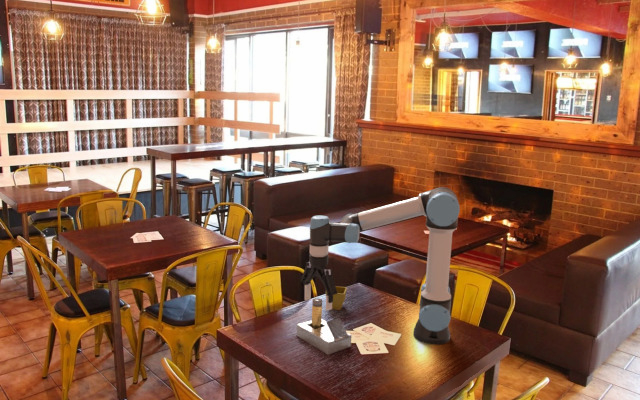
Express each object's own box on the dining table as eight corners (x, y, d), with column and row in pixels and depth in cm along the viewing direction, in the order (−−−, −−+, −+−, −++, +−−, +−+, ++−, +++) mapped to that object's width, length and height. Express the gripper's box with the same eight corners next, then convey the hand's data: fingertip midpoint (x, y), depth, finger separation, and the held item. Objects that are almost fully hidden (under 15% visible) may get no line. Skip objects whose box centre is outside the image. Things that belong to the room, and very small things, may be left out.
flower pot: (343, 312, 259) (344, 293, 258) (324, 310, 261) (325, 291, 259) (346, 305, 268) (347, 287, 266) (328, 303, 270) (328, 285, 268)
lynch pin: (322, 337, 234) (324, 300, 230) (315, 339, 231) (316, 303, 228) (316, 333, 237) (318, 297, 233) (308, 335, 234) (310, 299, 231)
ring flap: (325, 322, 222) (327, 321, 222) (338, 318, 227) (340, 317, 226) (334, 343, 219) (336, 341, 218) (348, 338, 223) (349, 337, 223)
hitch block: (296, 335, 234) (297, 324, 233) (319, 328, 242) (319, 317, 241) (328, 354, 219) (328, 342, 218) (350, 346, 227) (351, 334, 226)
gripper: (346, 260, 220) (345, 311, 224) (307, 245, 238) (306, 293, 243) (332, 264, 215) (330, 316, 219) (292, 248, 234) (292, 297, 238)
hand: (318, 304), depth 231 cm, fingers open, 13 cm apart
